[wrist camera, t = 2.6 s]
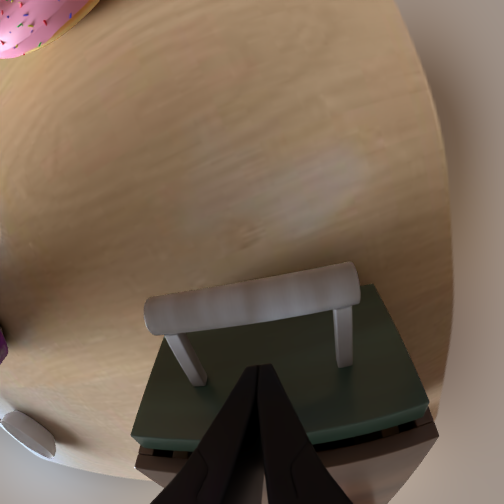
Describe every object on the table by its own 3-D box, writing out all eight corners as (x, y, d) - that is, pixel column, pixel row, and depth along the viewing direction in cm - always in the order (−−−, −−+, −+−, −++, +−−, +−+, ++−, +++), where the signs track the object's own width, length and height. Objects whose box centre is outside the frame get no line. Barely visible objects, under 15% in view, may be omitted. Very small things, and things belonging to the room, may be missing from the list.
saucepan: (60, 449, 35) (54, 464, 31) (-16, 397, 31) (-24, 410, 27) (59, 433, 30) (51, 452, 27) (-27, 371, 26) (-37, 386, 23)
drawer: (139, 249, 14) (63, 361, 7) (369, 202, 13) (461, 304, 6) (233, 430, 22) (226, 509, 15) (364, 411, 21) (382, 491, 14)
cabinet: (175, 330, 18) (133, 467, 9) (377, 295, 16) (440, 435, 8) (235, 435, 24) (229, 523, 16) (367, 416, 23) (386, 505, 14)
